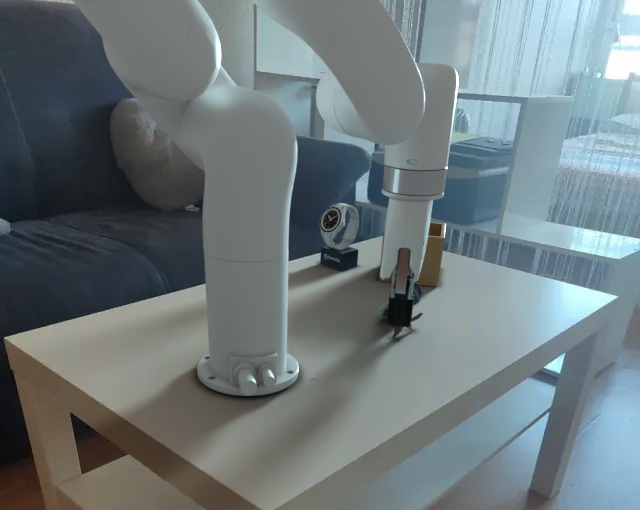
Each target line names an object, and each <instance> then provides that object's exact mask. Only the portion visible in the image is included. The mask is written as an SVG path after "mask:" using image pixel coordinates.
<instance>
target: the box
mask: <svg viewBox="0 0 640 510" xmlns="http://www.w3.org/2000/svg"><path fill="white" fill-rule="evenodd" d="M446 226H447V223H445V222H434V221H430V227H429V234H428V240H427V246H426V251H425V255H424V260H423V264H422V268H421V271H420V275H419V279H418V280H417V281H416V283H419V285H420V286H426V287H427V286H429V287H438V286H439V279H440V273H441V267H442V259H443V253H444V245H445V239H446V228H447V227H446ZM384 234H385V229H384V230H383V234H382V245H381V255H380V265H379V275H378V281H379V282H391V283H392V274H393V271H392V273H391V275H390V277H389V278H385V280H383V279H382V278H381V277H380V272H381V263H382V254H383V244H384ZM414 283H415V282H414Z"/></svg>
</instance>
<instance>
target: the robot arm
mask: <svg viewBox="0 0 640 510" xmlns="http://www.w3.org/2000/svg"><path fill="white" fill-rule="evenodd" d="M72 2H73V3H74V5H75V6H76V7H77V8H78V10H79V11H80V12H81V13H82V15H84V18H86V20H87V21H88V22H89V23H90V24H91V25H92V27H93V28H94V29H95V30H96V31H97V33H99V35H100V36H101V38H102V39H101V40H102V45H103V49H104V53H105V57H106V59H107V61H108V64H109V65H110V68H112V70H113V72H114V73H115V75H116V76H117V78H118V79H119V80H120V82H121V83H122V84H123V85H124V87H125V88H126V89H127V90H128V92H129V93H130V94H131V95H132V96H133V97H134V99H136V100H137V102H138V103H139V104H140V105H141V107H142V108H143V109H144V110H145V111H146V112H147V113H148V115H150V117H151V118H152V120H153V121H154V122H156V123H157V125H158V126H159V127H160V128H161V129H162V130H163V132H164V134H166V136H168V138H170V140H171V141H172V142H173V143H174V144H175V145H176V146H177V148H178V149H179V150H180V151H181V152H182V153H183V154H184V156H186V157H187V158H188V159H189V161H190V162H192V163H193V164H194V165H195V166H196V167H198V168H199V169H200V170H202V171H203V172H204V188H203V200H202V216H201V217H202V220H201V222H202V223H201V224H202V225H201V226H202V230H201V231H202V232H201V233H202V244H203V245H202V248H203V258H204V259H203V260H204V261H203V262H204V263H203V264H204V278H205V279H204V281H205V299H206V300H205V301H206V319H207V333H208V335H207V337H208V339H207V340H208V353H206V354H204V355H203V356H202V357H201V358H200V359H199V360H198V362H197V365H196V370H197V377H198V380H199V381H200V382H201V383H202V384H203V385H204V386H206V387H207V388H209V389H211V390H213V391H215V392H218V393H222V394H226V395H231V396H238V397H239V396H240V397H257V396H264V395H265V396H266V395H270V394H274V393H277V392H280V391H283V390H285V389H287V388H289V387H290V386H291V385H292V384H294V383H295V382H296V380H297V379H298V377H299V374H300V373H299V369H300V366H299V361H298V360H297V359H296V358H295V357H294V356H293V355H292V354H290V353H289V352H288V306H289V305H288V303H289V301H288V300H289V299H288V298H289V256H290V255H289V253H290V252H289V240H290V239H289V237H290V235H289V234H290V213H291V212H290V211H291V202H292V196H293V190H294V183H295V178H296V173H297V164H298V154H299V153H298V150H299V149H298V140H297V135H296V134H297V133H296V131H295V128H294V125H293V122H292V121H291V119H290V117H289V115H288V113H287V112H286V110H285V109H284V108H283V107H282V105H280V103H278V102H277V101H276V100H275V99H274V98H272V97H271V96H269V95H267V94H265V93H263V92H261V91H258V90H255V89H252V88H248V87H245V86H239V85H237V84H236V83H235V81H234V80H233V79H232V78H231V76H230V75H229V74H228V72H227V71H226V69H225V68H224V67H223V66H222V47H221V41H220V37H219V34H218V31H217V29H216V27H215V25H214V22H213V20H212V18H211V17H210V16H209V14H208V12H207V11H206V9H205V7H203V5H202V4H201V3H200V1H199V0H72ZM251 2H252V3H253V4H254V5H255V6H256V7H257V8H258V9H260V10H261V12H263V14H265V15H267V16H268V17H269V19H271V20H273V21H274V22H276V23H277V24H279V25H280V26H282V27H283V28H284V29H286V30H288V31H290V32H291V33H293V34H294V35H295V36H296V37H298V38H299V39H300V40H301V41H302V42H304V43H305V44H306V45H307V46H308V47H309V48H310V49H311V50H312V51H313V52H314V53H315V54H316V55H317V56H318V57H319V59H321V61H322V62H323V63H324V65H325V66H326V67H327V69H326V71H325V72H324V73H323V74H322V76H321V77H320V78H319V81H318V83H317V86H316V91H315V103H316V109H317V111H318V113H319V116H320V117H321V118H322V120H323V121H324V122H325V123H326V124H327V125H328V126H329V127H330V128H331V129H333V130H334V131H336V132H338V133H341V134H343V135H346V136H349V137H352V138H356V139H362V140H364V141H367V142H371V143H374V144H377V145H381V146H384V158H383V169H382V180H381V181H382V182H381V194H382V195H383V196H385V197H388V198H389V199H388V204H387V209H386V217H385V225H384V230H385V234H384V244H383V254H382V263H381V262H380V263H381V272H380V271H379V274H380V277H381V278H382V279H383V280H385V278H389V277H390V275H391V273H392V271H393V274H392V282H391V288H390V292H389V296H388V303H389V304H388V303H387V304H388V315H387V317H386V325H387V326H388V325H391V327H392V326H401V327H403V328H406V327H410V325H411V324H412V322H411V320H412V317H413V310H414V306H413V302H414V295H412V294H413V288H414V282H416V281H417V280H418V279H419V275H420V271H421V268H422V264H423V260H424V255H425V251H426V246H427V240H428V234H429V227H430V222H431V220H432V210H433V203H434V201H436V200H440V199H443V198H444V196H445V188H446V181H447V173H448V164H449V156H450V148H451V142H452V135H453V134H452V133H453V127H454V120H455V119H454V118H455V111H456V103H457V96H458V88H459V75H458V72H457V70H456V68H455V67H453V66H451V65H449V64H445V63H444V64H443V63H434V62H416V60H415V59H414V57H413V55H412V52H411V51H410V49H409V47H408V44H407V42H406V40H405V38H404V36H403V34H402V33H401V31H400V28H399V27H398V25H397V24H396V22H395V20H394V19H393V17H392V15H391V14H390V12H389V11H388V10H387V8H386V7H385V5H384V3H383V2H382V1H381V0H251Z"/></svg>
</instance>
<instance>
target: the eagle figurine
mask: <svg viewBox="0 0 640 510" xmlns="http://www.w3.org/2000/svg"><path fill="white" fill-rule="evenodd" d="M412 295H414V302H413V307H414V306H416V305H417V304H419V303H420V301H421V298H422V295H423V290H422V285H419V283H416V282H415V283H414V288H413V294H412ZM388 304H389V302H388V303H385V304H383V305H381V306H380V307H378V308H377V309H376V311H375V312H374V314H375V315H374V316H375V319H378V320H379V319H382V318H387V315H388ZM423 313H424V312H419V313H418V314H417V315H414V316H412V320H411V325H410V327H405V328H406V329H409V330H410V331H411V332H414V330H413V323H412V322H415V321H417V320H419V319H420V318H421V317H422V316H423V315H424V314H423ZM387 327H392V328H393V335H392V340H395V339H396V337H397V336H398V335H400V333H401V332H402V330H403V329H404V327H401V326H391V325H388V324H387Z"/></svg>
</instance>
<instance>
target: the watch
mask: <svg viewBox="0 0 640 510" xmlns="http://www.w3.org/2000/svg"><path fill="white" fill-rule="evenodd" d="M347 211H348V214H349V222H347V225H346V222H345V221H346V214H347ZM344 227H346V229H345V231H344V233H343V236H342V240H341V241H340V242H339V243H338V242H335V241H334V240H335V239H336V238H337V235H338V234H339V232H340V231H342V229H343V228H344ZM359 227H360V214H359V211H358V210H357V208H356V207H355V206H354V205H351V204H347V203H343V202H337V203H334V204H332V205H331V206H329V207H328V208H326V209H325V210H324V211H323V212H322V214H321V215H320V218H319V228H320V235H321V237H322V240H323V243H324V244H325V245H323V246H321V247H320V263H319V264H322V265H325V266H327V267H330V268H333V269H336V270H339V271H345V270H349V269H352V268H355V267H358V261H359V249H358V248H355V247H351V246H350V245H352V244H353V243H354V241H355V239H356V238H357V237H356V236H357V234H358V231H359Z"/></svg>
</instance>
